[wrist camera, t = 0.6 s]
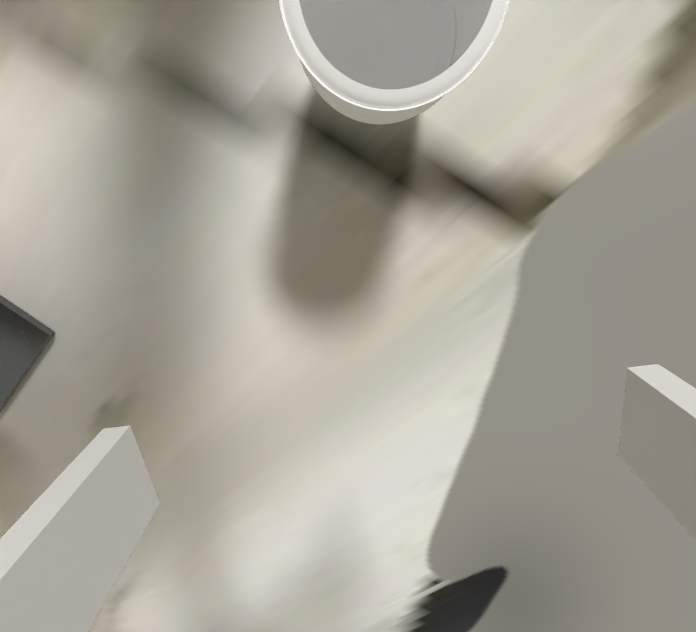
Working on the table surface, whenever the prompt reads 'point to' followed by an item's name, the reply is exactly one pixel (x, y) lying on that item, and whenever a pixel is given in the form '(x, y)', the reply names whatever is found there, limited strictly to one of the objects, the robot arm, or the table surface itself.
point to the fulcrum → (18, 346)
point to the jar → (390, 50)
